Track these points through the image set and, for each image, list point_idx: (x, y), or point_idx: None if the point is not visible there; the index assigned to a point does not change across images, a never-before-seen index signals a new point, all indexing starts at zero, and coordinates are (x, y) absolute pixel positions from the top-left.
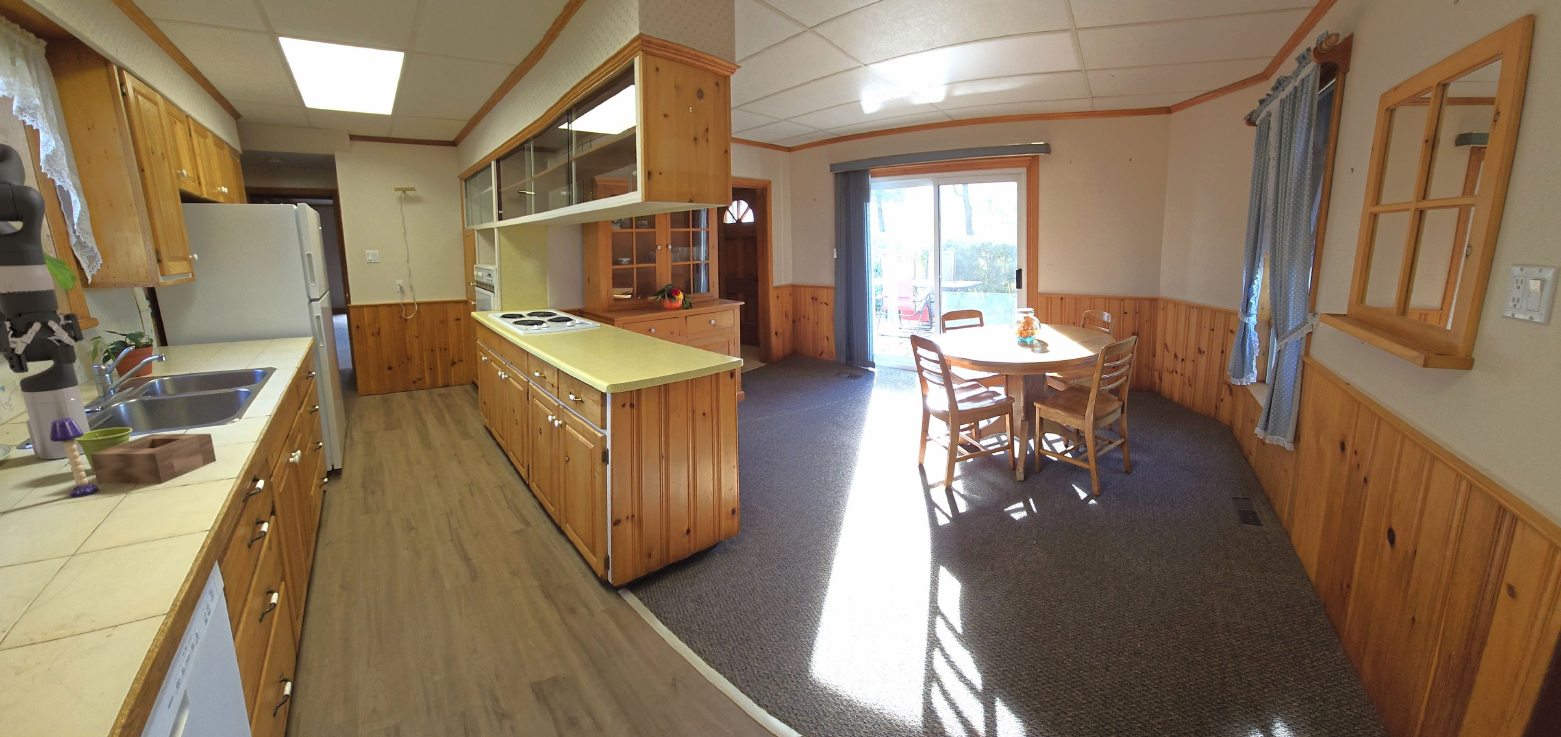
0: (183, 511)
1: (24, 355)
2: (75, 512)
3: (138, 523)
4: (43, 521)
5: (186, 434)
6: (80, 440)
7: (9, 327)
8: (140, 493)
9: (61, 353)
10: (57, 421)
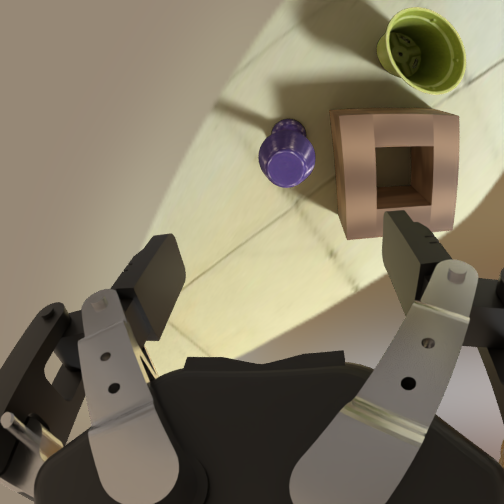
0: (252, 321)
1: (161, 332)
2: (226, 204)
3: (217, 305)
4: (195, 195)
5: (453, 189)
6: (385, 42)
7: (68, 461)
8: (298, 222)
9: (403, 249)
10: (271, 173)
